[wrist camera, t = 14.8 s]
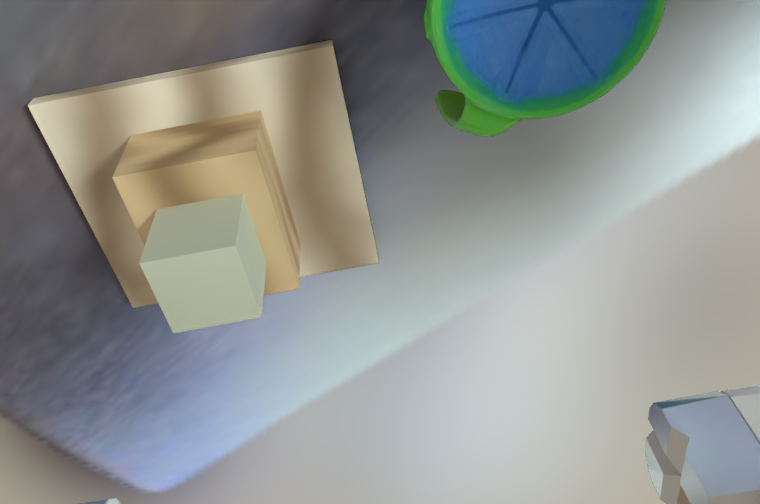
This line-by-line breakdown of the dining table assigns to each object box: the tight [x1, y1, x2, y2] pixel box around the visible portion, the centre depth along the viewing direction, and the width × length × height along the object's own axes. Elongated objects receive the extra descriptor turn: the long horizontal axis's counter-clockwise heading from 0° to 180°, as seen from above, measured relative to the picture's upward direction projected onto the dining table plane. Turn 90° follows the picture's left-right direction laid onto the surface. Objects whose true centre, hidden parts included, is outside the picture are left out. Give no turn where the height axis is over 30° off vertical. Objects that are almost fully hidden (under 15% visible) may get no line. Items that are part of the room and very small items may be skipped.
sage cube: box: [139, 193, 266, 333], centre depth 38 cm, size 5×5×5 cm
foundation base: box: [28, 40, 379, 308], centre depth 43 cm, size 18×16×6 cm
